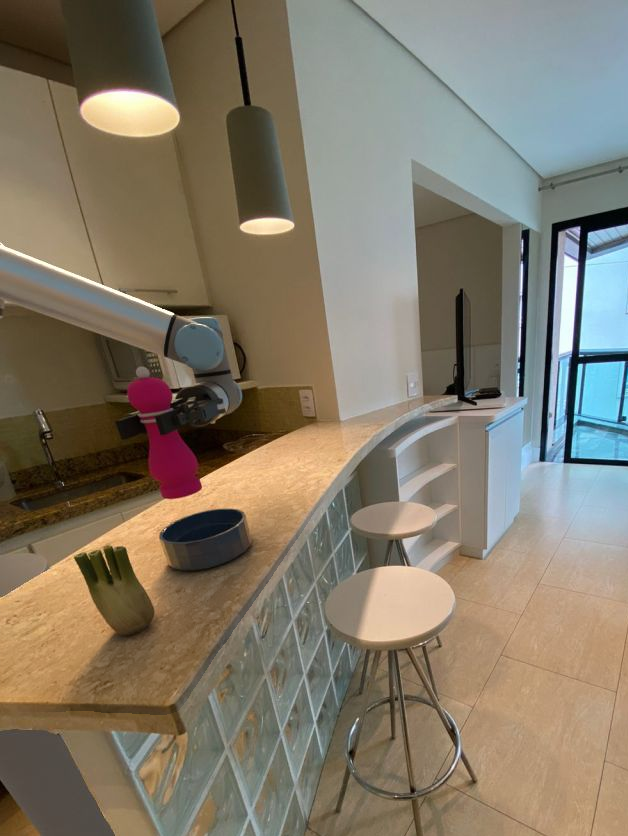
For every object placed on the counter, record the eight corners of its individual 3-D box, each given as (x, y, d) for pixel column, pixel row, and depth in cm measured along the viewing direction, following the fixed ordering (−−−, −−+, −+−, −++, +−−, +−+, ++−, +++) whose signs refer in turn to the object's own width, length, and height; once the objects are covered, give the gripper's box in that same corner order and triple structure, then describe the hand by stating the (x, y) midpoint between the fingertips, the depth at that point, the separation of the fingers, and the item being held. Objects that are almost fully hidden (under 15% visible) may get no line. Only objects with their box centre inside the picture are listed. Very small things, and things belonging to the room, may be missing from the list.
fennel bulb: (102, 636, 53) (64, 556, 48) (134, 613, 57) (102, 537, 53) (136, 642, 51) (100, 559, 46) (166, 617, 55) (135, 539, 51)
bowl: (151, 565, 70) (141, 537, 68) (215, 530, 81) (208, 505, 79) (207, 579, 64) (197, 548, 62) (268, 539, 75) (261, 512, 73)
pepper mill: (181, 484, 72) (142, 366, 65) (214, 484, 70) (177, 361, 62) (149, 500, 66) (101, 371, 58) (184, 500, 64) (139, 366, 56)
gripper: (252, 418, 81) (209, 446, 60) (162, 428, 81) (88, 460, 60) (243, 378, 78) (195, 393, 57) (150, 389, 78) (67, 408, 57)
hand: (140, 427), depth 58 cm, fingers closed on pepper mill, 5 cm apart
